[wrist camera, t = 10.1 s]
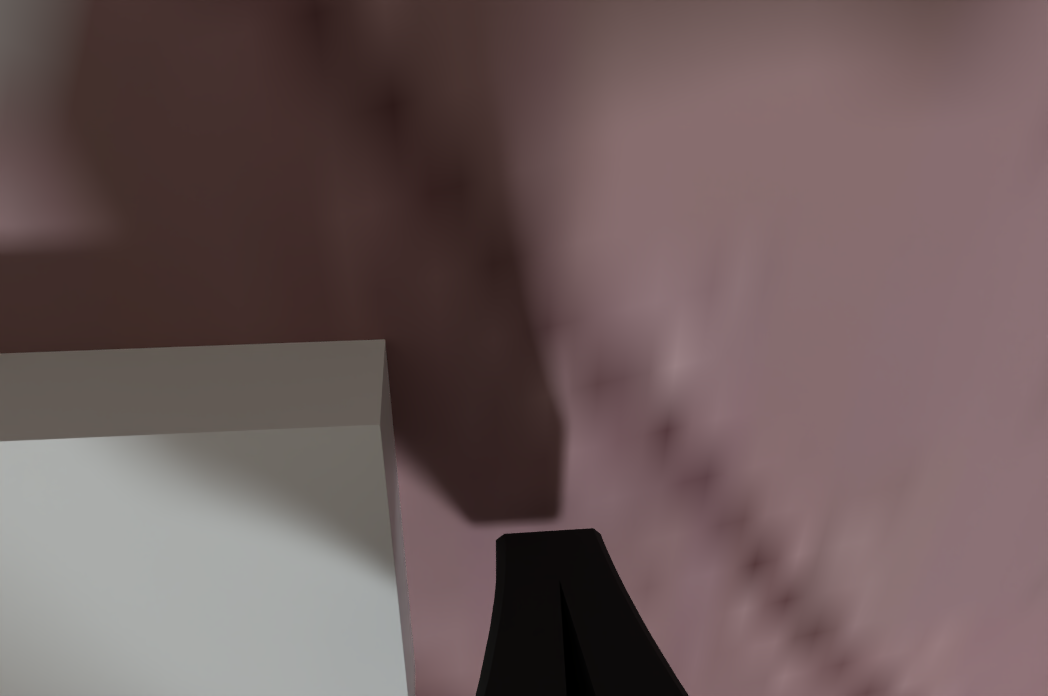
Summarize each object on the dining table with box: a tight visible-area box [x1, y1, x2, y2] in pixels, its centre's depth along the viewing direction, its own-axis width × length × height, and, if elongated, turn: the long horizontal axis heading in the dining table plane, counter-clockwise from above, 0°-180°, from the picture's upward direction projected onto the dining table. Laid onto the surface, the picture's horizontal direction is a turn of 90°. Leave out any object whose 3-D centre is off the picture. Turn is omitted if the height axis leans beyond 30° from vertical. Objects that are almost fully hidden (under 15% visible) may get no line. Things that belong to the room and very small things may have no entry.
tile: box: [0, 339, 415, 696], centre depth 12 cm, size 6×7×2 cm
